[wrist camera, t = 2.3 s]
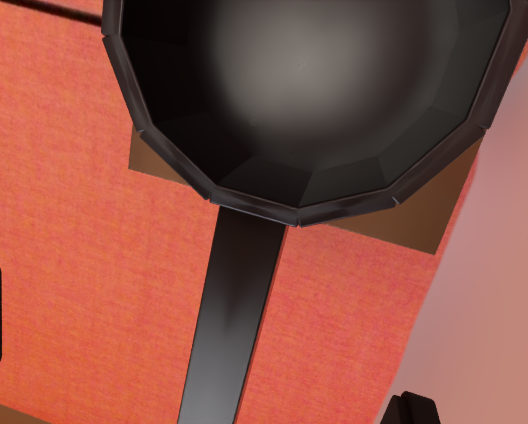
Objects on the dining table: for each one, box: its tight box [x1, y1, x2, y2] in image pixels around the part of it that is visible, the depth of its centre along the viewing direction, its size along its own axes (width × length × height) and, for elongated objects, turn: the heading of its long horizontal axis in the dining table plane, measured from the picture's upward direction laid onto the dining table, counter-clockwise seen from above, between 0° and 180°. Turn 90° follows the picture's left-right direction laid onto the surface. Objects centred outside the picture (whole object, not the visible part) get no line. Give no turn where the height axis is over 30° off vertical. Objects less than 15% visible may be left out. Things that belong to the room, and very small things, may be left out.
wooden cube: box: [128, 124, 487, 255], centre depth 21 cm, size 13×13×14 cm
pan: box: [101, 0, 528, 424], centre depth 14 cm, size 20×10×5 cm, turn 167°
